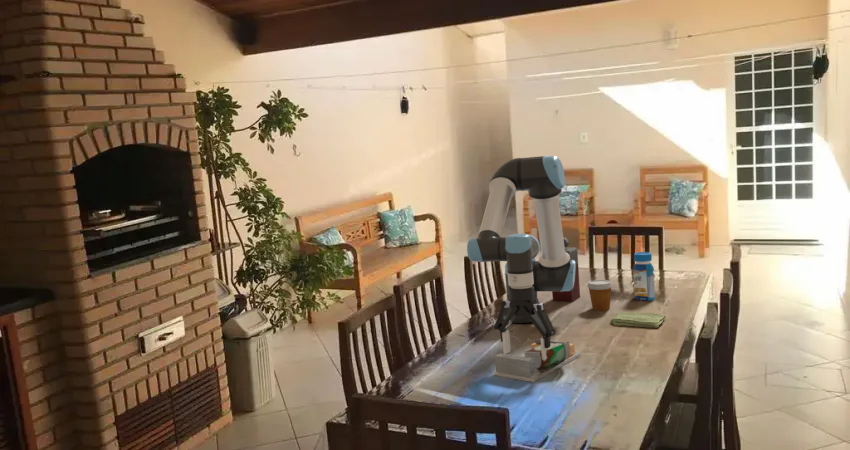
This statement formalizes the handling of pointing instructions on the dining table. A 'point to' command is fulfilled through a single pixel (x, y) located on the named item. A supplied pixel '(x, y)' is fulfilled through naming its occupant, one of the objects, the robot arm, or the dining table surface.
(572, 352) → the block
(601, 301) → the disposable coffee cup
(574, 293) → the toy vending machine
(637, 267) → the beverage bottle
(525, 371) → the vise
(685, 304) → the dining table surface
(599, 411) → the dining table surface
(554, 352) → the food container
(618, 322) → the washcloth
